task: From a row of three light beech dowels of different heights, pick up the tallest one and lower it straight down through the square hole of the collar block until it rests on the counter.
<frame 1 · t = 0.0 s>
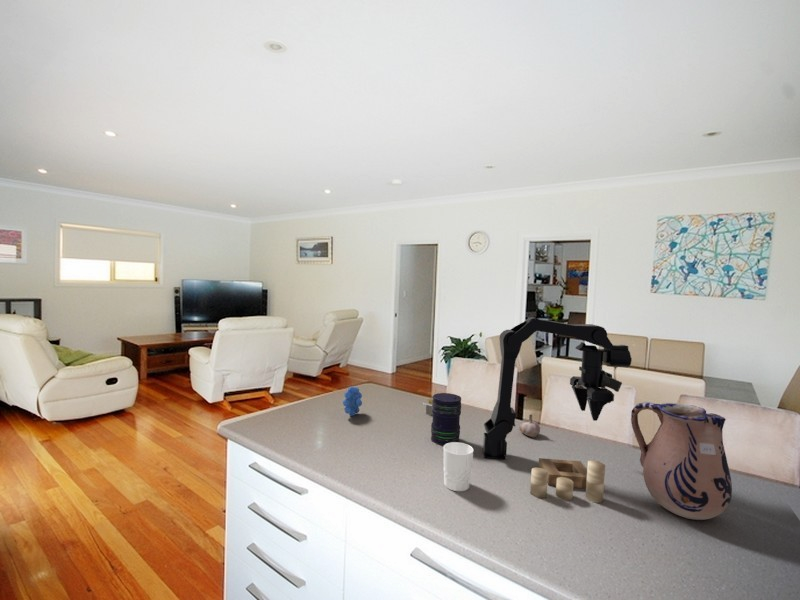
hand: (588, 415, 121), 15 cm above the kitchen island, tool pointing down, fingers open, 9 cm apart
stub dowel: (564, 496, 101), on the kitchen island
medium dowel: (538, 493, 101), on the kitchen island
storage jar: (444, 440, 134), on the kitchen island
ceramic pitcher: (674, 508, 98), on the kitchen island
white cup: (456, 485, 104), on the kitchen island
grapes: (354, 416, 153), on the kitchen island
collar block: (564, 477, 110), on the kitchen island
garlic bulb: (529, 435, 142), on the kitchen island
platform: (435, 416, 159), on the kitchen island
long dowel: (594, 498, 100), on the kitchen island
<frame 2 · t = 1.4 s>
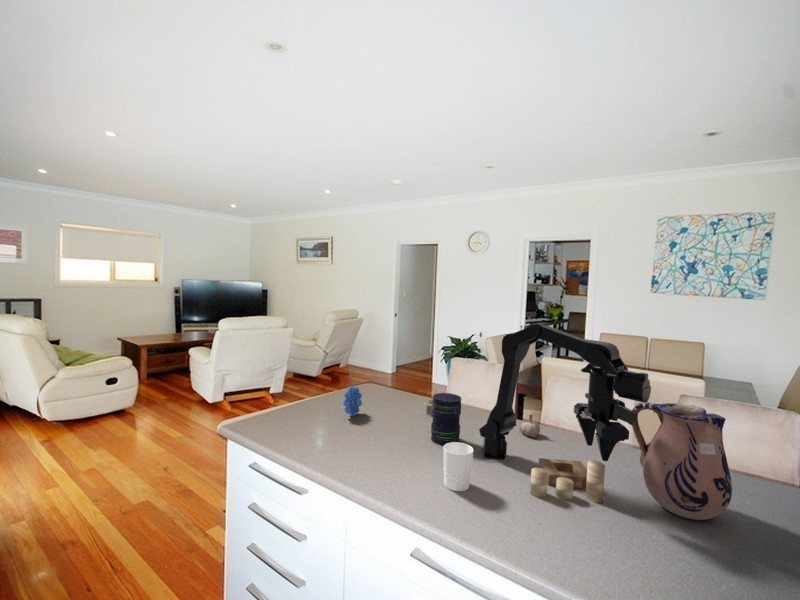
hand: (596, 452, 100), 12 cm above the kitchen island, tool pointing down, fingers open, 9 cm apart
nothing on the kitchen island moved.
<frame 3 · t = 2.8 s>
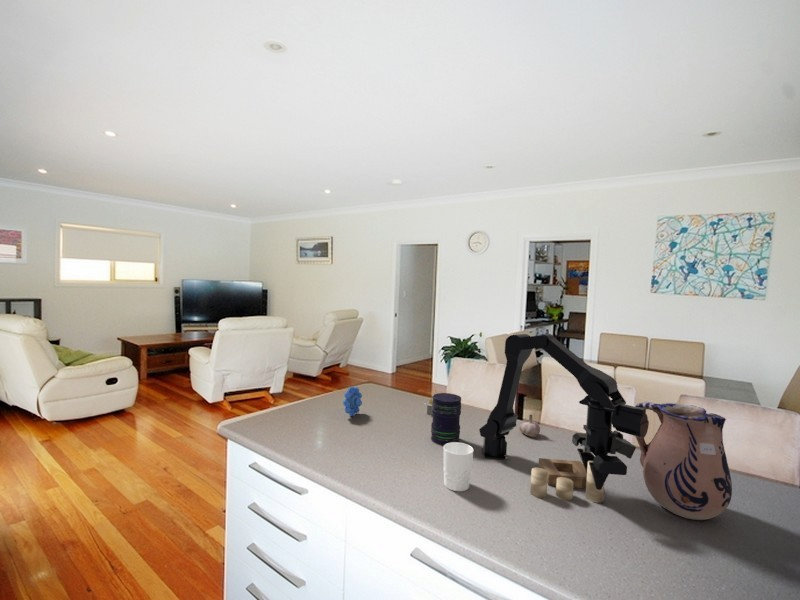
hand: (595, 484, 100), 4 cm above the kitchen island, tool pointing down, fingers closed on long dowel, 4 cm apart
long dowel: (594, 498, 100), on the kitchen island, touching gripper
everything else where it was.
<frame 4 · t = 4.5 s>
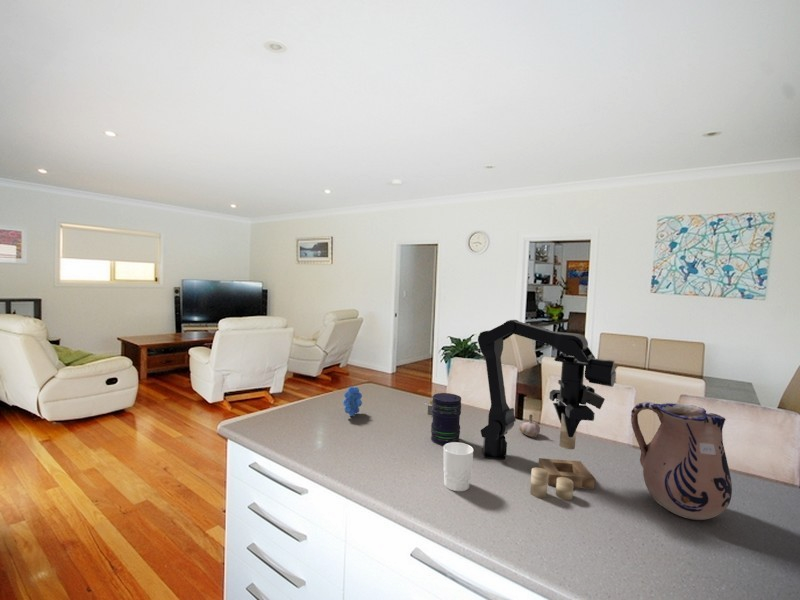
hand: (567, 434, 109), 13 cm above the kitchen island, tool pointing down, fingers closed on long dowel, 4 cm apart
long dowel: (567, 446, 110), point 9 cm above the kitchen island, touching gripper
everything else where it was.
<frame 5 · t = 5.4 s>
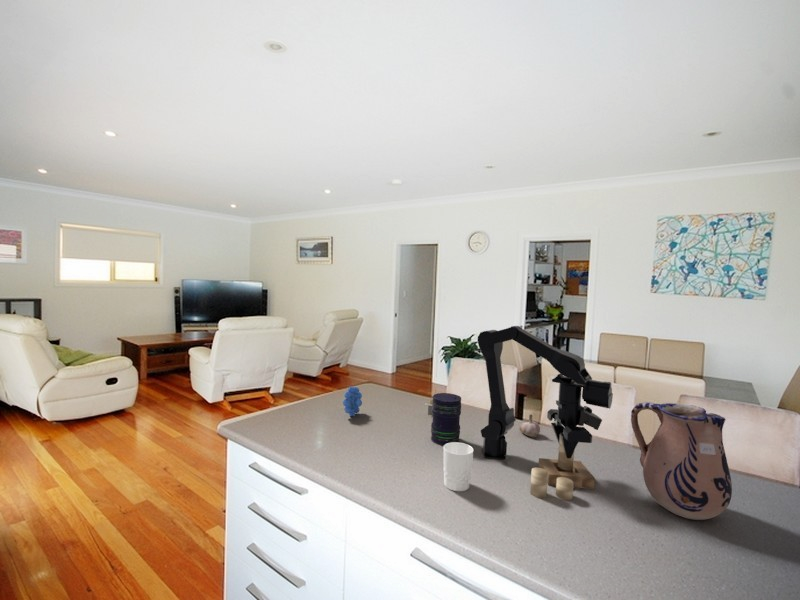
hand: (565, 454, 110), 7 cm above the kitchen island, tool pointing down, fingers closed on long dowel, 4 cm apart
long dowel: (565, 466, 110), point 3 cm above the kitchen island, touching gripper
everything else where it was.
when the fingers open (4 cm above the kitchen island, at t = 6.1 s): long dowel stays where it is, resting in collar block.
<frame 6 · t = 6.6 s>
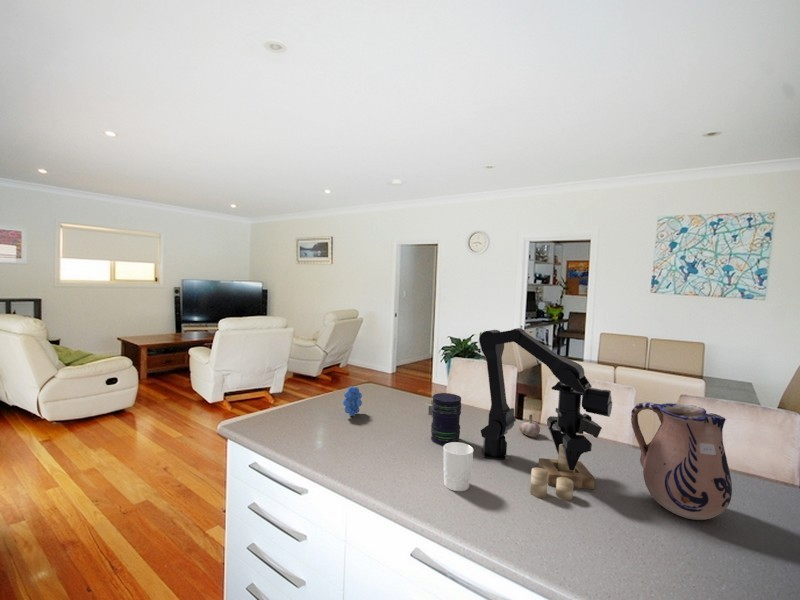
hand: (565, 462, 110), 4 cm above the kitchen island, tool pointing down, fingers open, 9 cm apart
long dowel: (564, 478, 110), resting in collar block
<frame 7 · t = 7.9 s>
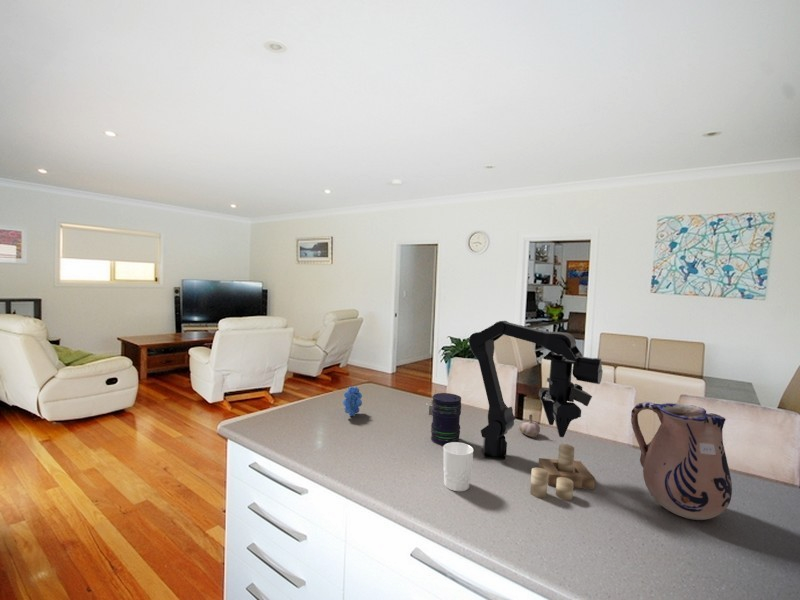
hand: (556, 430, 112), 13 cm above the kitchen island, tool pointing down, fingers open, 9 cm apart
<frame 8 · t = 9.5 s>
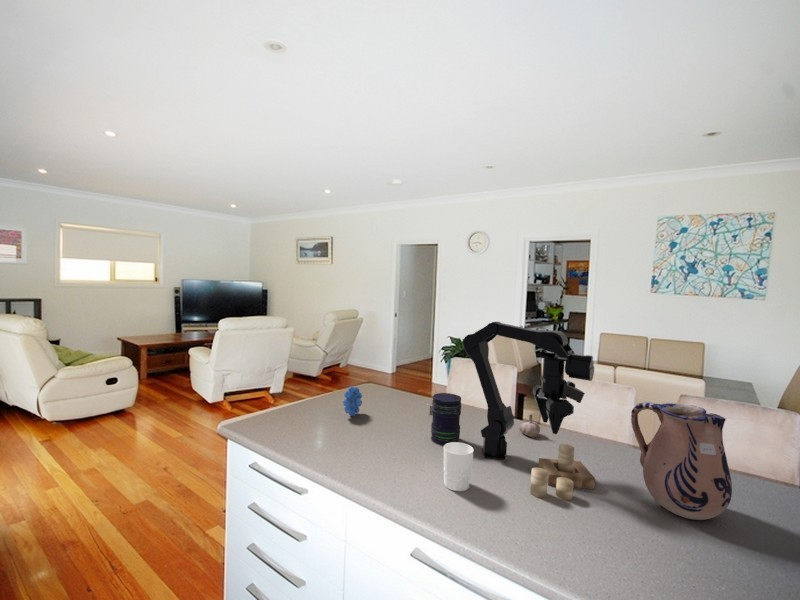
hand: (549, 427, 113), 13 cm above the kitchen island, tool pointing down, fingers open, 9 cm apart
at the end: long dowel 0.0 cm off-centre on the collar block, point 0.0 cm above the collar block's base; long dowel tilted 0°; the gripper is holding nothing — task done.
